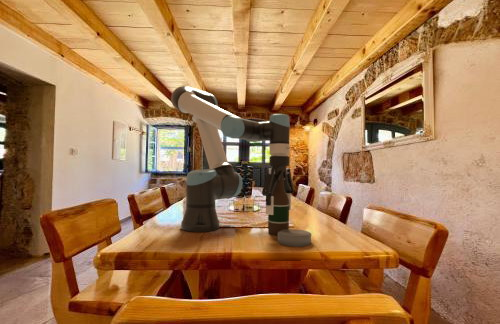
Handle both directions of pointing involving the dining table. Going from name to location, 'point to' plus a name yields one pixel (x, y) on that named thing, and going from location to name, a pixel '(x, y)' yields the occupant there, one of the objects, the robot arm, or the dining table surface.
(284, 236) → the slate pedestal
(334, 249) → the dining table surface
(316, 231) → the dining table surface
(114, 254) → the dining table surface
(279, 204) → the beer bottle
